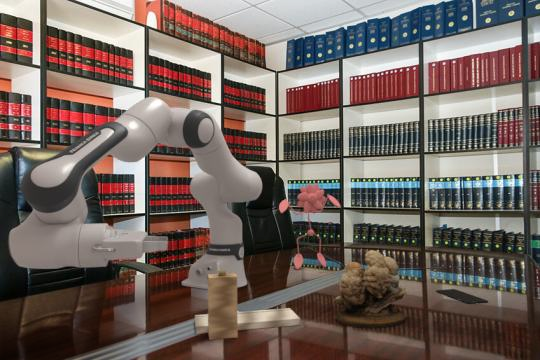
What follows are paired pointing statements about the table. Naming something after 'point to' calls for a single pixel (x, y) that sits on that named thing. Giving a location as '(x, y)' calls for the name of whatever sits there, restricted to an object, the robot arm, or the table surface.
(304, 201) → the figurine
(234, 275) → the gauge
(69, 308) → the table surface
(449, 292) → the smartphone
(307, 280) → the table surface
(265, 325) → the board
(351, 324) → the carved stone sculpture
